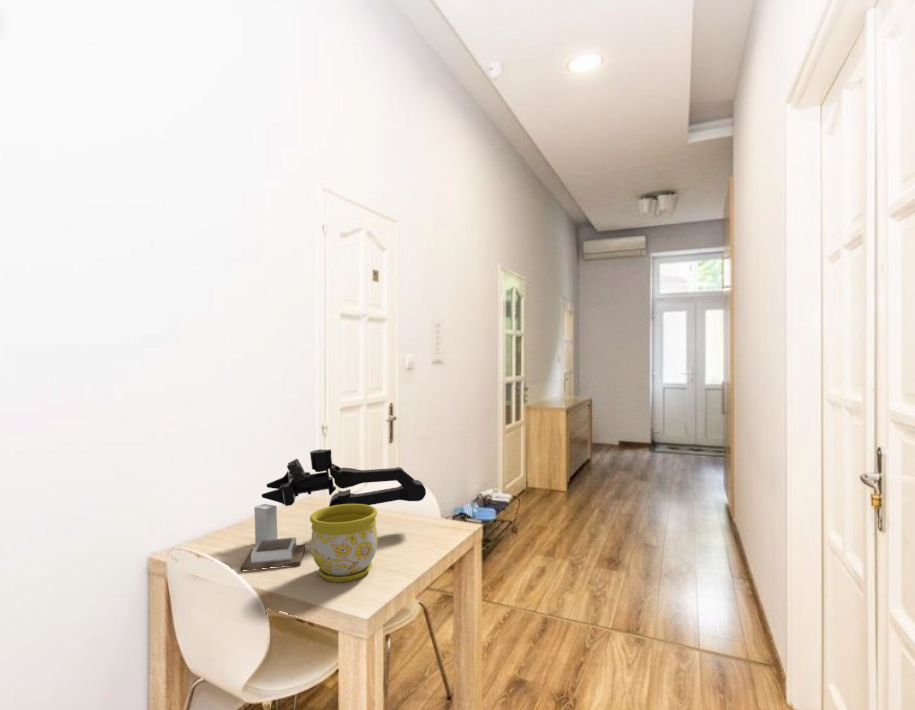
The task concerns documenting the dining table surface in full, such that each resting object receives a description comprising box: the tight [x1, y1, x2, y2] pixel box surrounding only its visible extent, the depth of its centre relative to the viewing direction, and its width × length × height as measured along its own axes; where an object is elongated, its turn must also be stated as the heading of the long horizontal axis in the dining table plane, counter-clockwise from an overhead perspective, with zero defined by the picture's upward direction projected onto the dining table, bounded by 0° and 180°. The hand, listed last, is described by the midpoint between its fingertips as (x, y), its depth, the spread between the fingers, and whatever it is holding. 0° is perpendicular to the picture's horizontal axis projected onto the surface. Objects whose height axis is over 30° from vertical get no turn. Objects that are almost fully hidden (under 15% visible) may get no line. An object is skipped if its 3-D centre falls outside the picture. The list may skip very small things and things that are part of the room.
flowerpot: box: [309, 504, 378, 583], centre depth 140 cm, size 18×18×16 cm
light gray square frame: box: [251, 536, 297, 564], centre depth 151 cm, size 11×11×3 cm
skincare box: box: [253, 503, 279, 545], centre depth 165 cm, size 6×4×12 cm
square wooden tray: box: [240, 543, 306, 572], centre depth 151 cm, size 16×14×1 cm
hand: (264, 490), depth 165 cm, fingers open, 9 cm apart
